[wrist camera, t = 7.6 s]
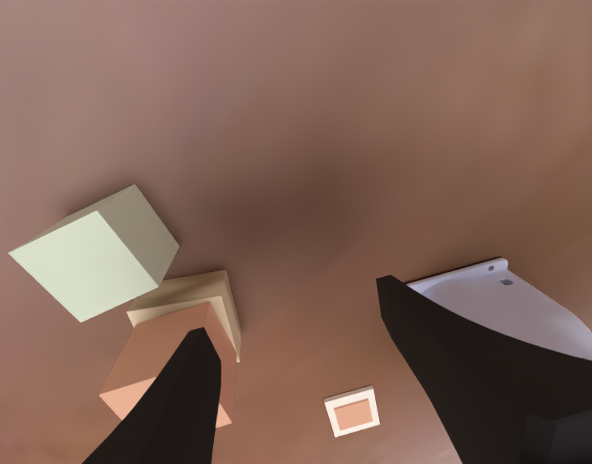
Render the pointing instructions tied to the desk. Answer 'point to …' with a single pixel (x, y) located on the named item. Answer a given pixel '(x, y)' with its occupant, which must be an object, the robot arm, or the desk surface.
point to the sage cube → (101, 254)
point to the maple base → (191, 301)
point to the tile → (352, 411)
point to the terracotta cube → (158, 350)
